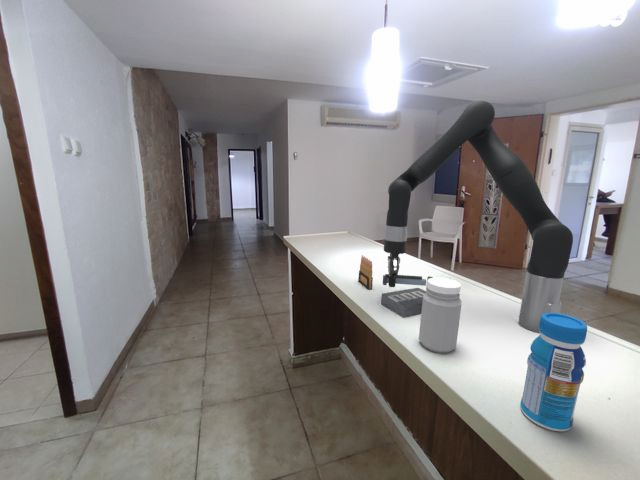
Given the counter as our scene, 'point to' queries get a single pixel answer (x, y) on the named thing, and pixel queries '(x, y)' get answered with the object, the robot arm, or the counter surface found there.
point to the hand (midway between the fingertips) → (391, 286)
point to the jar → (440, 315)
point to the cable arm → (406, 280)
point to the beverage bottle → (554, 372)
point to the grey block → (404, 301)
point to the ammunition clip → (365, 273)
